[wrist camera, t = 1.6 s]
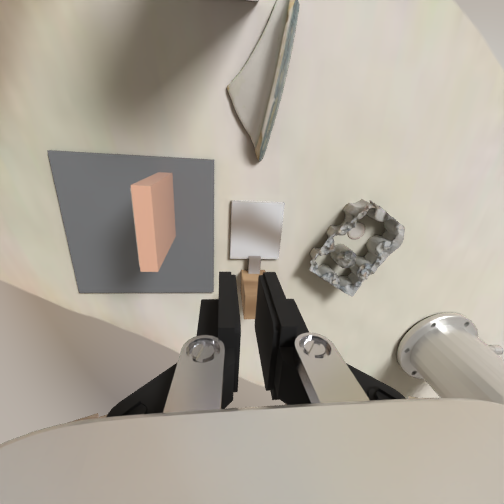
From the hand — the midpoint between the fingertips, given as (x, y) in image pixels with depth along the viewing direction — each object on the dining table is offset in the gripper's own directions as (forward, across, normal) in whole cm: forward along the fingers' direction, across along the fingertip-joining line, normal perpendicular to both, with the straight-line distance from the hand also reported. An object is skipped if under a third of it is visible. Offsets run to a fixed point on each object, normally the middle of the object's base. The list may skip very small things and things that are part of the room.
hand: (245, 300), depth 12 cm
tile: (+19, +7, 0) cm, 20 cm away
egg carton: (+20, -15, +4) cm, 25 cm away
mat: (+19, +10, +3) cm, 22 cm away
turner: (+19, -3, +5) cm, 20 cm away
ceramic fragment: (+20, -3, -12) cm, 23 cm away
